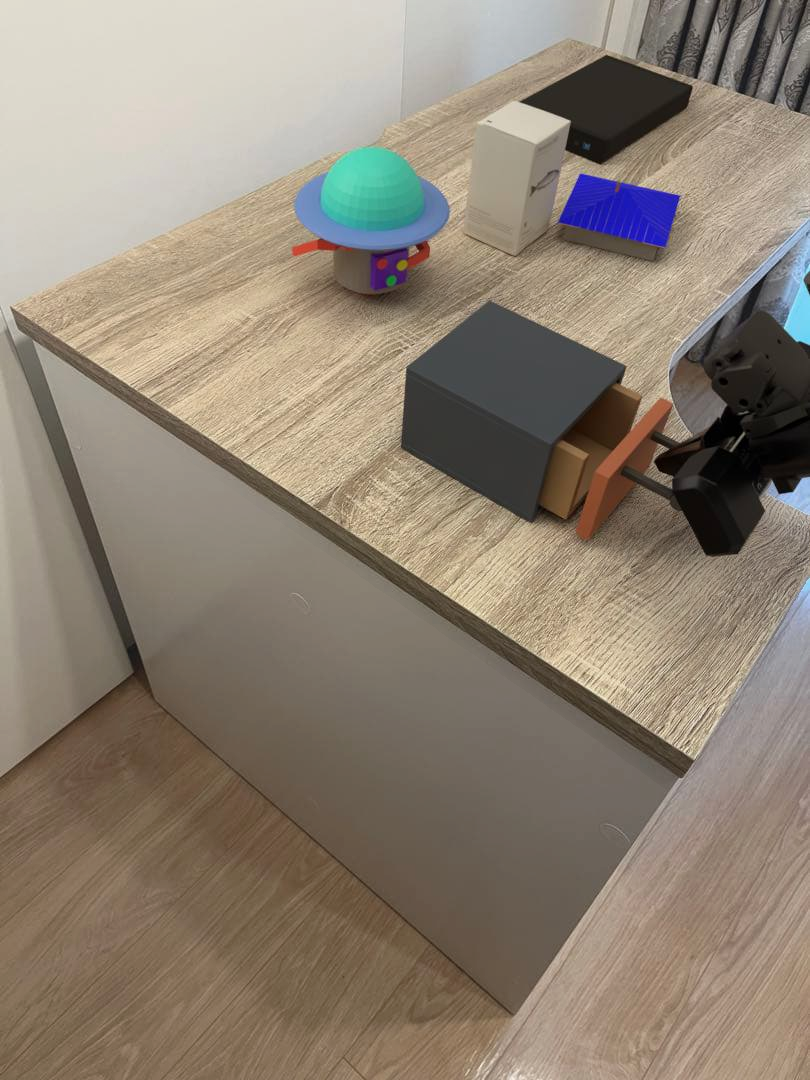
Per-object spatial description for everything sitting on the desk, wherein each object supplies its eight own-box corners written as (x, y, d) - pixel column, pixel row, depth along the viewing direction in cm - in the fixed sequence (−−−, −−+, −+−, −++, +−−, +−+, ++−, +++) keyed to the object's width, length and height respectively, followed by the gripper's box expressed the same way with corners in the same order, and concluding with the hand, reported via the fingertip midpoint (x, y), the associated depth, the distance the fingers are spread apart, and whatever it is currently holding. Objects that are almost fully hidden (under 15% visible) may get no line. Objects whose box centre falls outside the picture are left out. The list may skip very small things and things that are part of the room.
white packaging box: (516, 258, 95) (536, 144, 85) (460, 233, 97) (474, 120, 87) (550, 231, 98) (573, 119, 89) (496, 208, 101) (513, 97, 91)
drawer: (708, 497, 72) (738, 434, 66) (650, 577, 66) (678, 515, 60) (526, 403, 78) (540, 338, 72) (459, 468, 72) (468, 403, 67)
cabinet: (601, 445, 76) (627, 365, 69) (531, 523, 70) (551, 444, 63) (477, 380, 81) (489, 299, 74) (400, 448, 75) (406, 367, 68)
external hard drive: (686, 108, 121) (693, 86, 119) (600, 165, 109) (606, 141, 107) (600, 76, 126) (605, 54, 124) (509, 126, 115) (513, 103, 112)
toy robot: (399, 233, 96) (405, 104, 86) (468, 306, 88) (486, 174, 78) (274, 264, 91) (265, 131, 80) (336, 344, 83) (335, 209, 72)
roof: (576, 191, 104) (585, 147, 100) (674, 214, 102) (688, 170, 98) (553, 241, 97) (563, 196, 93) (659, 266, 95) (673, 221, 91)
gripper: (868, 242, 56) (666, 315, 68) (758, 384, 46) (544, 440, 58) (927, 388, 59) (724, 433, 72) (836, 550, 49) (618, 570, 62)
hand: (658, 463), depth 66 cm, fingers closed, pressing on drawer
